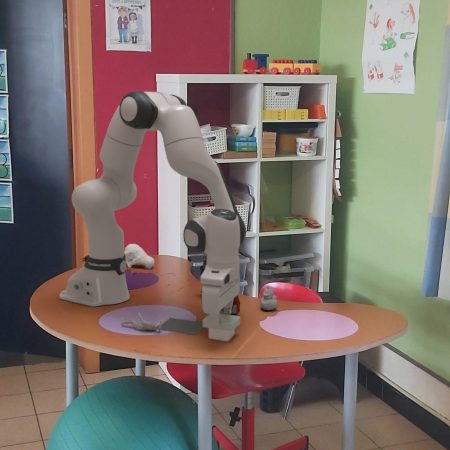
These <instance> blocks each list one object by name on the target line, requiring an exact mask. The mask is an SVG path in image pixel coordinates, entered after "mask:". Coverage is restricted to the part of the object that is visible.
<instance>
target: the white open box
mask: <svg viewBox="0 0 450 450" xmlns="http://www.w3.org/2000/svg"><path fill="white" fill-rule="evenodd" d="M235 331H236V328H235V329H234V330H233V331H227V330H220V329H214V328H208V339H211V340H216V341H223V342H229V341H230V340H231V339H232V338H233V336H235V335H236V334H235Z"/></svg>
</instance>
